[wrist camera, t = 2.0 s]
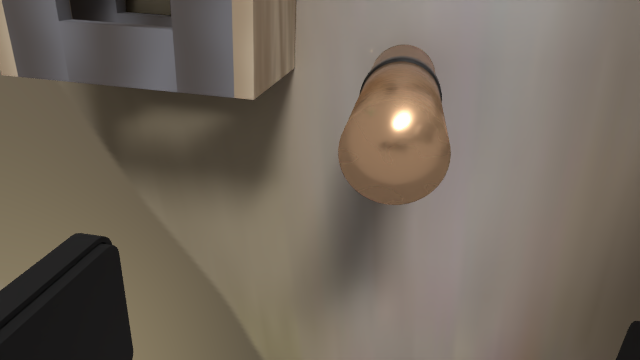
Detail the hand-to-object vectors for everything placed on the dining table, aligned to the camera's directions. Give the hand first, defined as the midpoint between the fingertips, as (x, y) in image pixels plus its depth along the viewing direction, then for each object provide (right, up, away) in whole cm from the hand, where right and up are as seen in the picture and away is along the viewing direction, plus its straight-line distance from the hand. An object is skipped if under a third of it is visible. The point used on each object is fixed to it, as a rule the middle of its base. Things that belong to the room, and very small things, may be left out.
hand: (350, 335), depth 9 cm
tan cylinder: (+5, +9, +21) cm, 23 cm away
